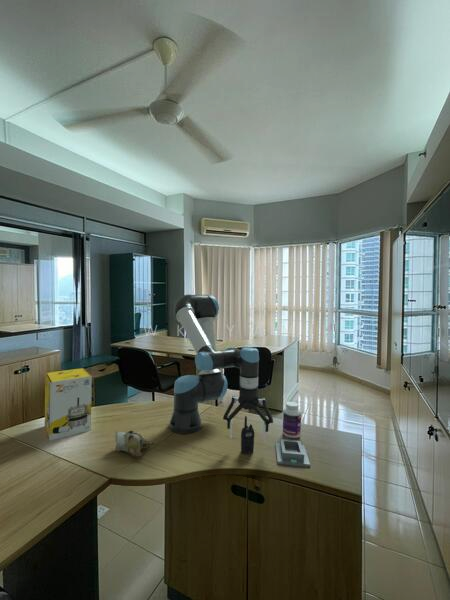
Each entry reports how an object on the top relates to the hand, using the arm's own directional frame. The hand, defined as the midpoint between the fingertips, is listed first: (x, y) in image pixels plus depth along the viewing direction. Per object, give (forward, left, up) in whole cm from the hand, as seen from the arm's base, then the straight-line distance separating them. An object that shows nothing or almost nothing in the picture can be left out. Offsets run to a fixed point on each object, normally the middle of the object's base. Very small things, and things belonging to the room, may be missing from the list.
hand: (247, 437), depth 117 cm
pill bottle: (+20, +17, -6) cm, 27 cm away
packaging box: (-83, +6, -6) cm, 84 cm away
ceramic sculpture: (-46, -7, -6) cm, 47 cm away
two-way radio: (0, 0, -6) cm, 6 cm away
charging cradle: (+18, 0, -6) cm, 19 cm away
